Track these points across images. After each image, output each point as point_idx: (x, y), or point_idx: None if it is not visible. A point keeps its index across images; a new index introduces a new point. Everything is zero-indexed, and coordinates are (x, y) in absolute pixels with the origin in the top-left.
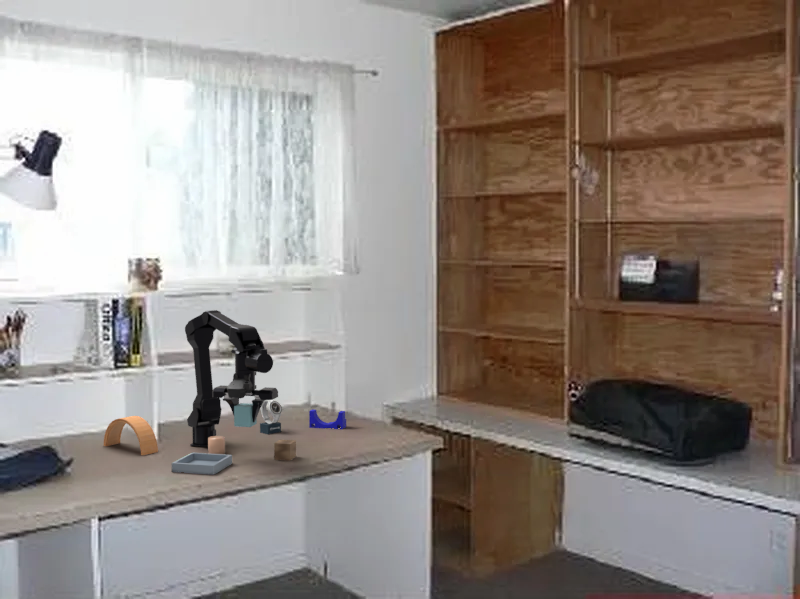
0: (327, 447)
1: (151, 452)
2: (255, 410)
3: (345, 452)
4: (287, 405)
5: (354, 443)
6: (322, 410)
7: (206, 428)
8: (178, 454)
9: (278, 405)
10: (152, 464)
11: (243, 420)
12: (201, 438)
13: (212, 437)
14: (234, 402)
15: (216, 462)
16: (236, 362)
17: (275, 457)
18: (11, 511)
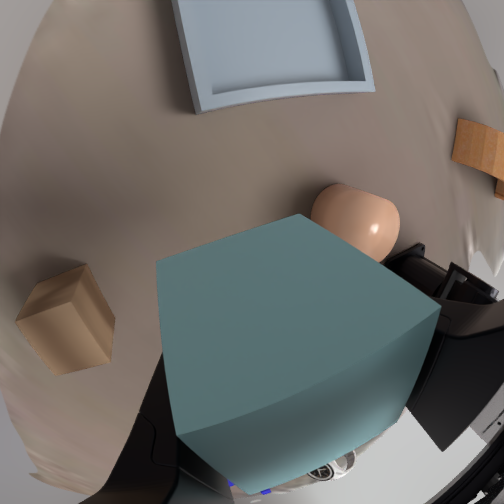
0: (97, 425)
1: (456, 142)
2: (142, 424)
3: (30, 408)
4: (346, 464)
5: (90, 454)
6: (294, 484)
7: (429, 290)
8: (416, 154)
9: (317, 476)
10: (409, 38)
11: (234, 266)
12: (417, 265)
13: (388, 227)
14: (461, 365)
15: None
16: None
17: (80, 269)
18: None
